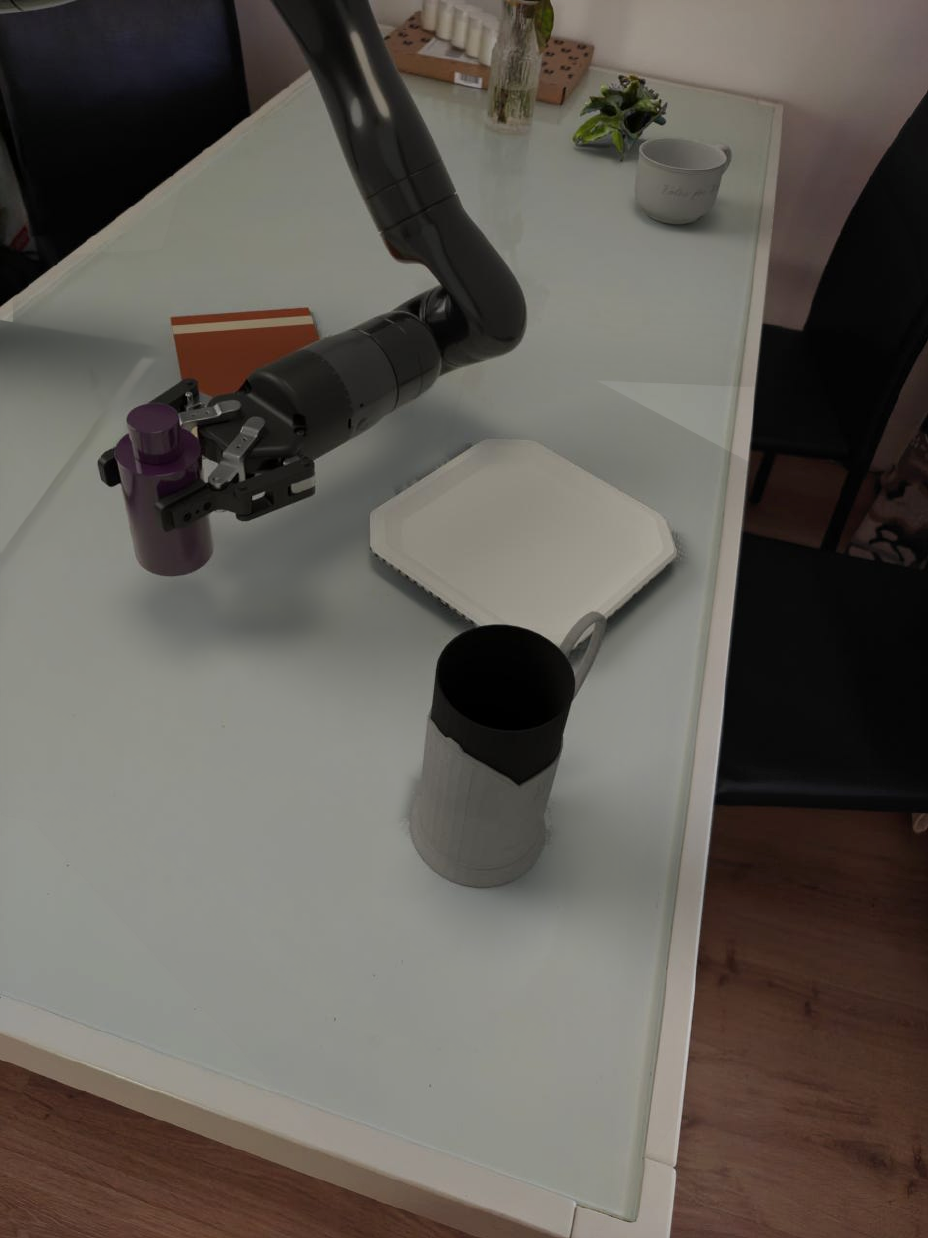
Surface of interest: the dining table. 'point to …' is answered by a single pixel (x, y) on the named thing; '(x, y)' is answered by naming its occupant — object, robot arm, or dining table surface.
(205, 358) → the towel
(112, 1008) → the dining table surface
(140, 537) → the bottle
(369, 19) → the robot arm
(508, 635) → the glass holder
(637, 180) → the teacup
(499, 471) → the plate
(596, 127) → the green leafy clump
